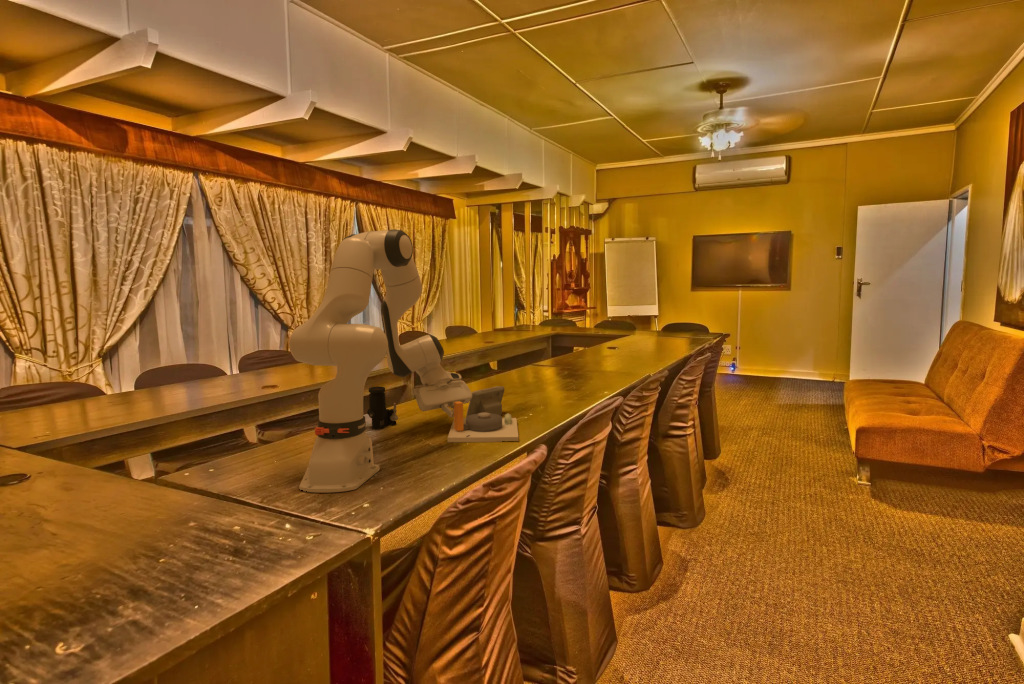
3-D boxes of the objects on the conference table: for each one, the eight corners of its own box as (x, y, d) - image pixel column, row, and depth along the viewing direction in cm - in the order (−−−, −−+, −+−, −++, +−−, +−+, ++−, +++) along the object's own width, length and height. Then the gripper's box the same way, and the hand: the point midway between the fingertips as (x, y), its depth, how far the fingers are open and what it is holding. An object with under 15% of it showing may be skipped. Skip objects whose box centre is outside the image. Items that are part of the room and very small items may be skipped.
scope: (397, 385, 189) (380, 391, 180) (398, 424, 191) (381, 431, 182) (377, 384, 192) (360, 389, 183) (379, 422, 194) (361, 429, 185)
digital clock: (497, 411, 211) (497, 383, 210) (511, 415, 204) (511, 387, 203) (461, 417, 202) (460, 388, 200) (474, 422, 194) (473, 392, 193)
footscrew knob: (492, 420, 189) (492, 394, 188) (508, 428, 179) (508, 401, 178) (449, 425, 182) (449, 399, 181) (463, 434, 172) (462, 406, 171)
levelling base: (518, 441, 170) (518, 429, 169) (447, 442, 169) (447, 430, 169) (516, 422, 194) (516, 411, 193) (454, 422, 193) (454, 411, 193)
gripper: (414, 380, 177) (432, 415, 171) (463, 373, 190) (482, 405, 184) (406, 392, 180) (424, 426, 174) (456, 384, 194) (474, 416, 188)
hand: (454, 415), depth 179 cm, fingers closed
